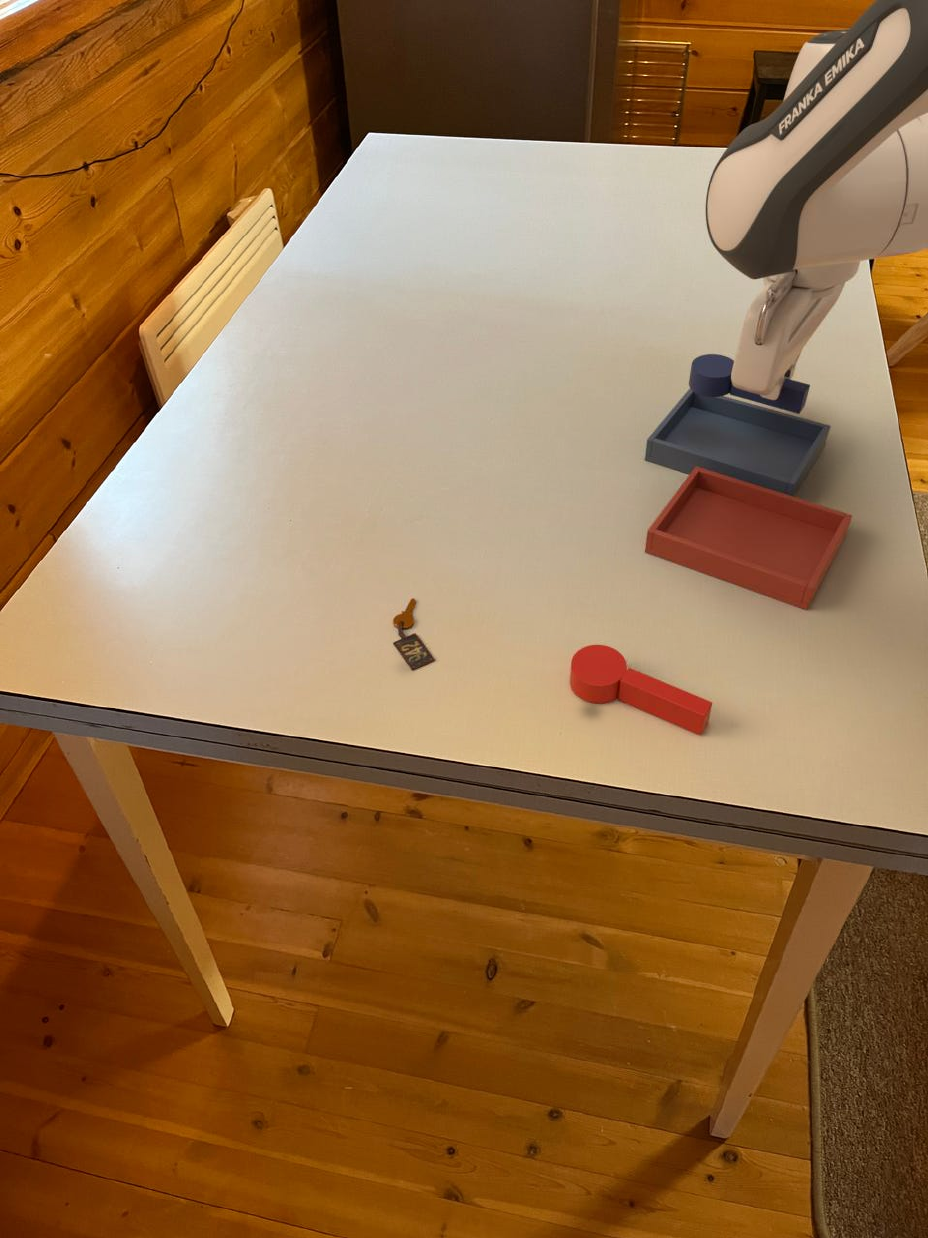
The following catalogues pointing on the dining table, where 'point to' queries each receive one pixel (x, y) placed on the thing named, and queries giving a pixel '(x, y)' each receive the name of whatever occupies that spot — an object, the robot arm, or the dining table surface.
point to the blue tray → (738, 442)
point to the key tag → (411, 641)
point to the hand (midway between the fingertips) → (775, 387)
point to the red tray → (749, 536)
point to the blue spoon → (715, 381)
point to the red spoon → (634, 688)
